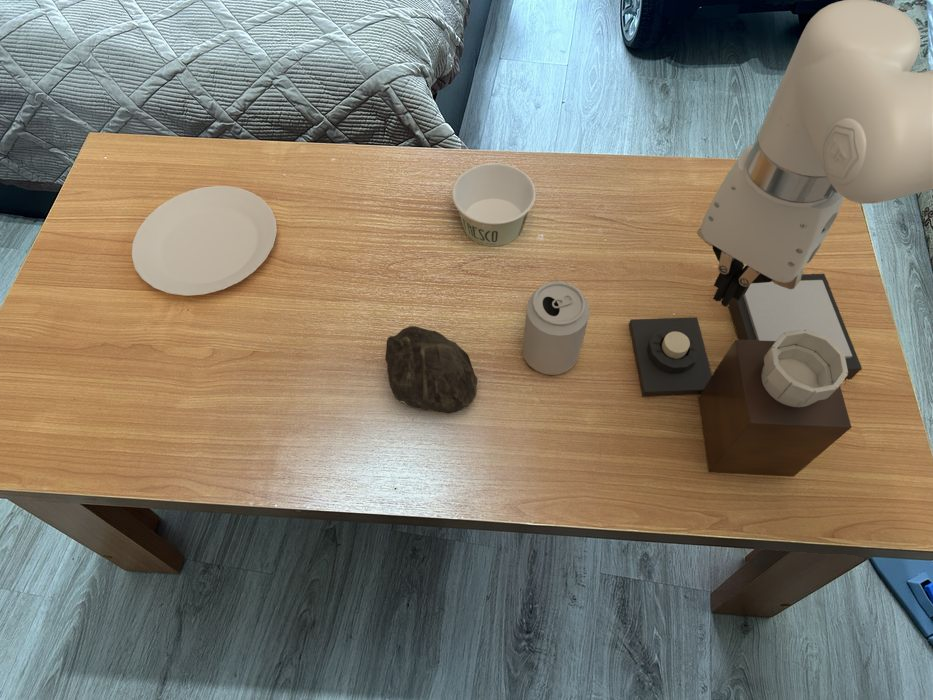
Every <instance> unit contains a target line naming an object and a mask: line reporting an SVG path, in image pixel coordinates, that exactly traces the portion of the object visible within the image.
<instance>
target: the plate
mask: <svg viewBox="0 0 933 700" xmlns="http://www.w3.org/2000/svg"><path fill="white" fill-rule="evenodd" d="M277 229H278V228H277V219H276V216H275V214H274V212H273V210H272V208H271V206H270V205H269V204H268V203H267V202H266V201H265V200H264V199H263V198H262V197H260V196H259V195H257V194H255V193H254V192H252V191H249V190H247V189H243V188H241V187H238V186H228V185H212V186H203V187H199V188H194V189H191V190H187V191H185V192H183V193H180V194H178V195H175V196H172V197H171V198H169V199H168V200H166V201H165V202H163V203H162V204H160V205H158V206H157V207H156V208H155V209H154V210H153V211H152V212H151V213H149V215H147V216H146V217H145V219H144V220H143V221H142V223H141V224H140V226H139V227H138V229H137V230H136V233H135V236H134V237H133V241H132V245H131V246H132V247H131V260H132V263H133V267H134V269H135V271H136V273H137V274H138V275H139V277H140V278H141V279H142V281H144V282H145V283H147V284H148V285H149V286H150V287H152V288H154V289H156V290H158V291H161V292H164V293H166V294H168V295H176V296H177V295H178V296H184V297H189V296H200V295H201V296H202V295H209V294H211V293H216V292H219V291H223V290H225V289H227V288H229V287H232V286H234V285H236V284H238V283H240V282H241V281H243V280H244V279H246V278H248V277H249V276H251V274H253V273H254V272H256V270H257V269H258V268H259V267H260V266H261V265H263V263H264V262H265V261H266V260H267V258H268V256H269V255H270V253H271V251H272V249H273V248H274V245H275V242H276V237H277V233H278V231H277Z"/></svg>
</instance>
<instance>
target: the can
mask: <svg viewBox="0 0 933 700" xmlns="http://www.w3.org/2000/svg"><path fill="white" fill-rule="evenodd" d="M589 318H590V306H589V303H588V300H587V299H586V298H585V295H584V294H583V292H582V291H581V289H579V288H578V287H577V286H576V285H574V284H572V283H569V282H567V281H563V280H561V281H560V280H553V281H548V282H547V283H544V284H542V285H541V286H539V287H538V288H537V289H536V290H535V291H534V292H532V294H531V295H530V297H529V298H528V300H527V304H526V312H525V321H524V330H523V340H522V348H521V352H522V355H523V358H524V360H525V362H526V363H527V365H528V366H529V367H531V368H532V369H533V370H534V371H536V372H538V373H541V374H543V375H550V376H554V375H562V374H564V373H567V372H568V371H570V370H571V369H572V368H573V367H574V366H575V365H576V363H577V362H578V359H579V358H580V354H581V350H582V345H583V342H584V337H585V335H586V330H587V327H588V322H589Z"/></svg>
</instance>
